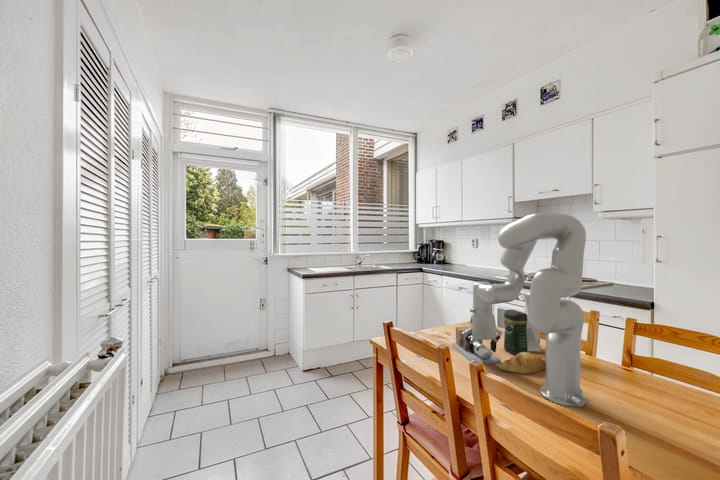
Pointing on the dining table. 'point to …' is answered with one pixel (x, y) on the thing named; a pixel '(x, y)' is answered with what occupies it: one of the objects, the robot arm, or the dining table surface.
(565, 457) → the dining table surface
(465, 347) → the guide
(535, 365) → the croissant
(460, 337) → the socket
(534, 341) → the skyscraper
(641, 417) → the dining table surface
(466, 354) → the board
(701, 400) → the dining table surface
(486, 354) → the tube
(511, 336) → the coffee jar
